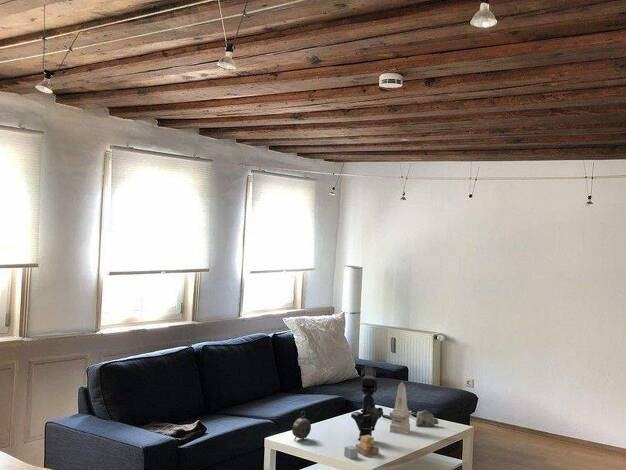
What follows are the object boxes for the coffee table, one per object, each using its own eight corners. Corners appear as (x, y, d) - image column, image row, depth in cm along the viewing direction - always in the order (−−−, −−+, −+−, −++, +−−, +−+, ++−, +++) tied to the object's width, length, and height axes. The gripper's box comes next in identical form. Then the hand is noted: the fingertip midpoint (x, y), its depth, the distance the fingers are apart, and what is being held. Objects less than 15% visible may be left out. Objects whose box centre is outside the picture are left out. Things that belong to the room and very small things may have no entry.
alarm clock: (305, 437, 385) (307, 408, 385) (312, 439, 381) (313, 410, 381) (291, 440, 378) (292, 411, 378) (297, 442, 374) (298, 413, 374)
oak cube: (367, 444, 366) (367, 434, 366) (373, 446, 362) (373, 437, 362) (360, 445, 363) (360, 436, 363) (366, 448, 359) (366, 438, 359)
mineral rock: (439, 426, 421) (440, 410, 421) (432, 430, 412) (433, 413, 412) (420, 422, 428) (421, 406, 428) (413, 426, 419) (413, 409, 420)
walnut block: (369, 450, 369) (369, 442, 369) (378, 455, 361) (378, 447, 361) (355, 451, 364) (355, 444, 364) (364, 457, 356) (364, 449, 356)
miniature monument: (388, 432, 404) (391, 382, 404) (394, 427, 413) (396, 379, 413) (405, 434, 399) (407, 384, 399) (410, 430, 409) (412, 381, 409)
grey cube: (351, 454, 358) (351, 445, 358) (357, 457, 354) (358, 448, 354) (344, 456, 355) (344, 446, 355) (350, 459, 351) (350, 449, 351)
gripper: (365, 406, 351) (363, 436, 351) (391, 402, 363) (389, 431, 363) (351, 401, 360) (349, 431, 360) (377, 398, 371) (375, 426, 371)
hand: (366, 430), depth 363 cm, fingers open, 9 cm apart
